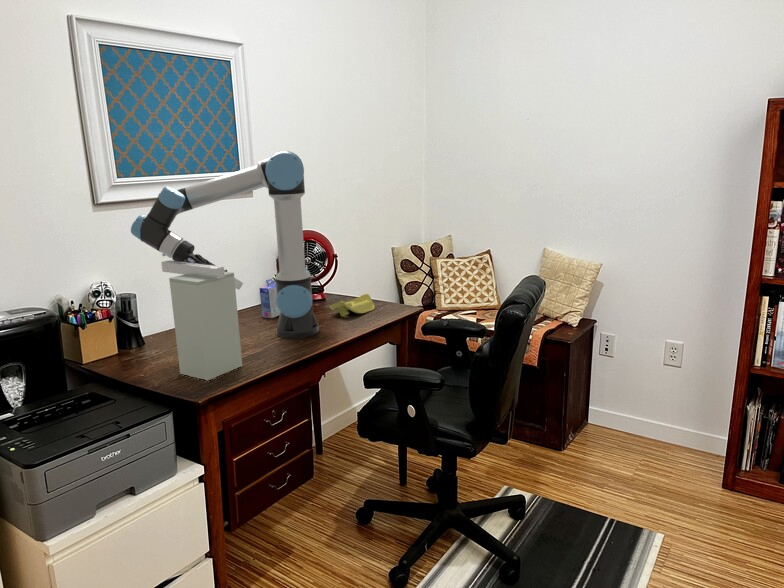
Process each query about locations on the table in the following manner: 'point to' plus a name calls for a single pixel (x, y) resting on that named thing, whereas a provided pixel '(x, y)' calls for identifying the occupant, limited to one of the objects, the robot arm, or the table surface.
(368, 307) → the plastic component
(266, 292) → the ink cartridge box
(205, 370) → the pedestal
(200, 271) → the rail bar
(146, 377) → the table surface
